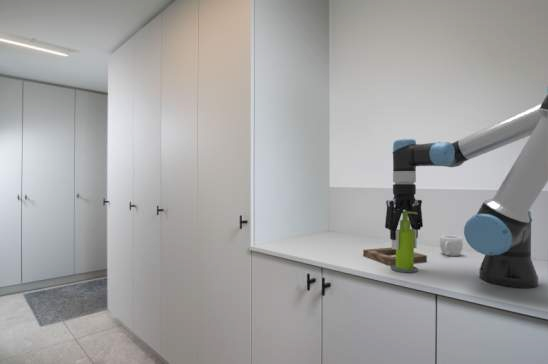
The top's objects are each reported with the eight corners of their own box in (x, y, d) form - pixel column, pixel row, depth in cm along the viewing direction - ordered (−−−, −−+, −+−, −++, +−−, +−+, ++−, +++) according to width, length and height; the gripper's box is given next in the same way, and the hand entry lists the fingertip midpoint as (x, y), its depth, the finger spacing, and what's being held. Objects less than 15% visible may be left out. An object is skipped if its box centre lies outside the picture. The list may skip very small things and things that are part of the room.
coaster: (423, 271, 113) (423, 269, 113) (402, 274, 110) (402, 272, 110) (405, 265, 122) (405, 263, 122) (385, 267, 119) (385, 265, 119)
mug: (443, 251, 144) (443, 234, 144) (465, 254, 139) (465, 236, 139) (434, 256, 136) (434, 237, 136) (457, 259, 130) (457, 240, 130)
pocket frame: (426, 262, 126) (426, 255, 126) (390, 265, 121) (390, 259, 121) (396, 252, 142) (396, 247, 142) (363, 255, 137) (363, 249, 137)
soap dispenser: (418, 270, 113) (419, 212, 112) (397, 269, 114) (398, 211, 114) (414, 265, 118) (415, 210, 118) (394, 264, 120) (395, 210, 119)
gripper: (418, 183, 123) (418, 244, 123) (373, 183, 116) (373, 248, 116) (434, 183, 115) (434, 248, 116) (387, 183, 109) (387, 252, 109)
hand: (404, 248), depth 116 cm, fingers open, 7 cm apart
